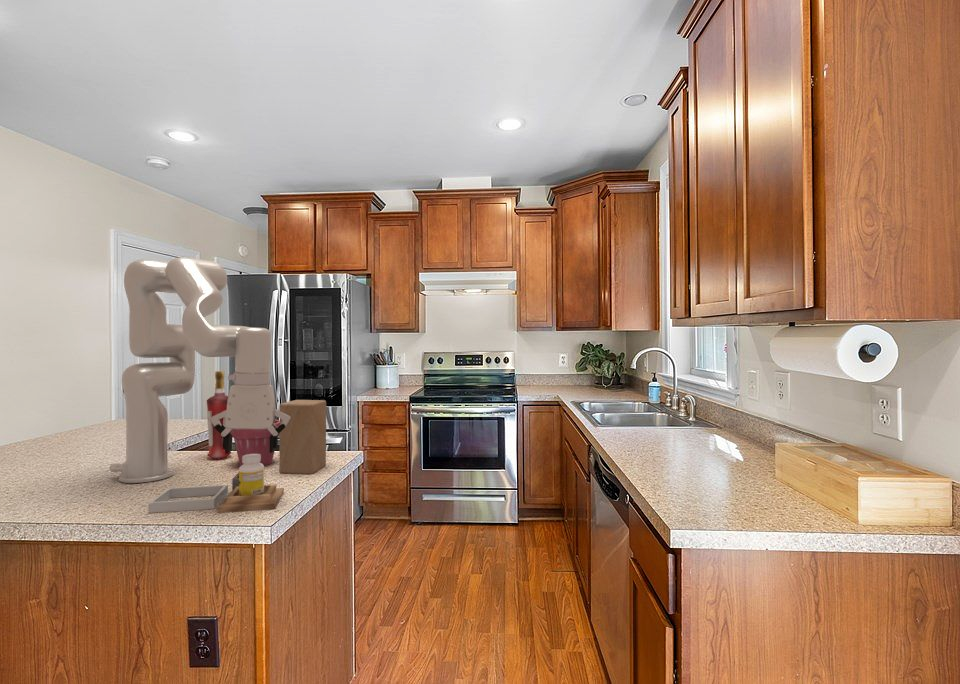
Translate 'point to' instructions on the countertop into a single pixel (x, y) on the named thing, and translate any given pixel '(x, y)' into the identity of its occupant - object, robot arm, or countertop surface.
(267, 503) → the brown wooden square tray
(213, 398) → the liquor
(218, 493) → the frame
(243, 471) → the supplement bottle
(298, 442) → the wooden block
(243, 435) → the plant pot
